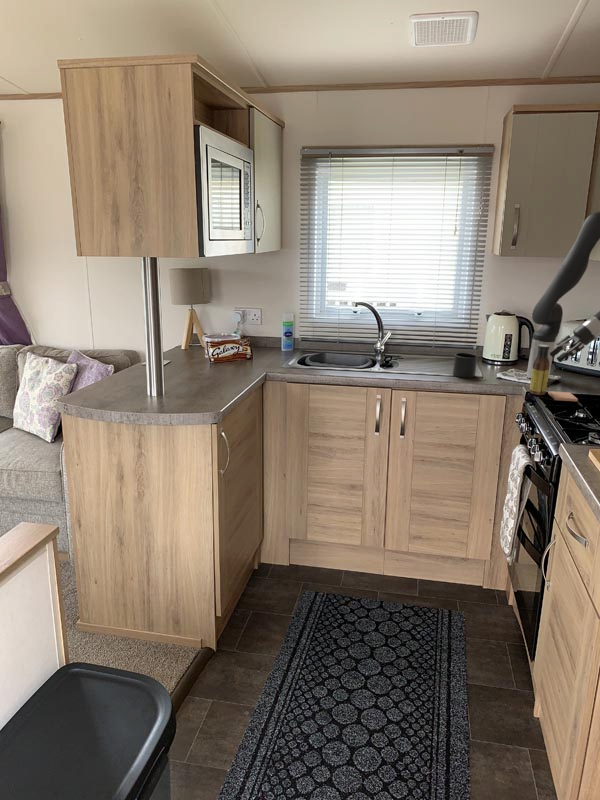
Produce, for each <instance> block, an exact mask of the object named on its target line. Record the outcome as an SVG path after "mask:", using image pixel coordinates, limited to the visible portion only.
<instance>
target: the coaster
mask: <svg viewBox="0 0 600 800" xmlns="http://www.w3.org/2000/svg"><path fill="white" fill-rule="evenodd" d="M547 393H548V395H549V396H550V397H551V398H552V399H553V400H554V401H560V402H561V401H563V402H578V401H579V399H578V398H577V397H576V396H575V395H574V394H572V393H571V392H567V391H565V392H564V391H552V390H551V391H549V390H548V392H547Z"/></svg>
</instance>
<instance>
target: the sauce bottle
mask: <svg viewBox="0 0 600 800" xmlns="http://www.w3.org/2000/svg"><path fill="white" fill-rule="evenodd" d="M548 350H549V346H548V345H539V346H538V354H537V357H536V359H535V361H534V364H533V368H532V376H531V379H530V385H529V393H530V394H533V395H536V396H545V395H546V391H547V388H548V387H547V386H548V381H549V379H548V374H549V360H548ZM549 375H550V374H549Z"/></svg>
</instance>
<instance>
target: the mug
mask: <svg viewBox="0 0 600 800" xmlns="http://www.w3.org/2000/svg"><path fill="white" fill-rule="evenodd" d="M477 362H478V355H476V354H474V353H469V352H458V353H457V352H456V353H455V354H454V361H453V369H452V375H453V376H455V377H457V378H462V379H473V378H474V377H476V369H477Z"/></svg>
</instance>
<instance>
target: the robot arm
mask: <svg viewBox="0 0 600 800" xmlns="http://www.w3.org/2000/svg"><path fill="white" fill-rule="evenodd" d="M598 241H600V211H596V212H593V213H591V214H590V215H588V216H587V217H586V218H585V220H584V221H583V224H582V226H581V228H580V231H579V233H578V236H577V238H576V240H575V242H574V243H573V245H572V247H571V248H570V250H569V252H568V253H567V255H566V257H565V258H564V260H563V261H562V263H561V265H560V267H559V269H558V270H557V271H556V274H555V276H554V277H553V279H552V280H551V283H550V284H549V286H548V288H546V289H545V290H546V291H545V292H544V294H543V295H542V296H541V298H540V299H539V300H538V302H537V303H536V305H535V306H534V308H533V310H532V314H531V317H532V322H533V323H535V324H537V325H541V327H540V328H539V329H537V330H536V331H535V332H533V335H532V340H531V346H530V352H529V359H528V363H527V364H528V365H527V370H526V375H527V376H528V377H530V378H531V376H532V368H533V364H534V361H535V359H536V357H537V354H538V346H539V345H548V346H549V350H548V360H549V374H548V378H549V377H550V373H551V368H552V367H551V366H552V362H553V358H554V357H555V356H557V355H558V354H559V353H560V352H562V351H563V352H562V353H561V354H559V355H558V356H557V357H556V360H557V361H558V363H562V362H563V361H565V359H567V358H568V357H574V356H576V355H577V354H578V353H579V352H580V351H582V350H583V349H584V348H585V346H588V345H589V344H590V343H592V342H593V341H594V340H596V339H597V338H599V336H600V310H599V311H598V312H597V313H596V314H594V315H592V316H591V317H590V318H588V319H586V321H584V322H583V323H581V324H580V325H579V326H578V327H576V328H575V329H574V330H572V333H573V335H572V336H570V335H569V334H567V335H566V336H564V338H562V339H561V340H560V341H558V342H557V343H556V340H557V337H558V335H559V333H560V329H561V324H562V321H563V315H564V314H563V313H564V312H563V311H564V310H563V308H562V306H561V304H560V303H558V302H559V300H560V299H561V298H563V296H565V295H566V294H568V293H569V292H570V291H572V289H573V288H575V287H576V286H577V285H578V284H579V282H580V281H581V279H582V278H583V276H584V275H585V272H586V271H587V268H588V265H589V261H590V256H591V253H592V250H593V249H594V248H595V246H596V245H597V243H598ZM555 345H556V347H555ZM564 350H565V351H564ZM549 379H550V378H549Z"/></svg>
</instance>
